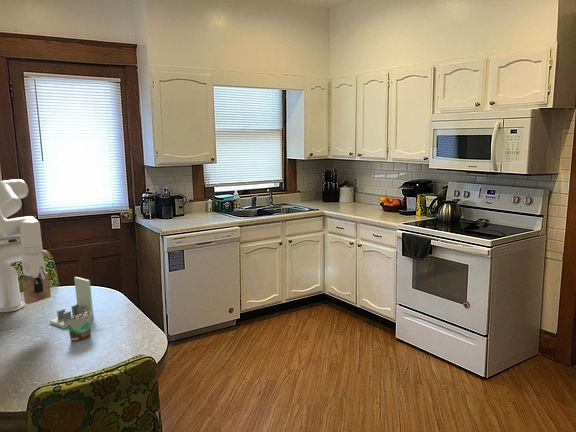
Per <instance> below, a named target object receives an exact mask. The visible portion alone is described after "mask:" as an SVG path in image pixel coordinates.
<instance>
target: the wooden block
mask: <svg viewBox="0 0 576 432" xmlns="http://www.w3.org/2000/svg"><path fill="white" fill-rule="evenodd" d="M39 276H40V275H39ZM38 279H39V278H37V280H38ZM21 281H22V283H21V284H22V290H23V291H22V292H23V298H24V302H25V305H31V304H33V303H36V302H40V301H43V300H46V299H49V298H52V294H51V285H50V275H49V272H47V271H46V274H45V279H44V280H43V283H42V284H43V292H40V293H35V287H34V284H35V279H34V278H31V277H28V276H23V277H22V278H21Z"/></svg>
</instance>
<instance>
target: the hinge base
mask: <svg viewBox="0 0 576 432" xmlns="http://www.w3.org/2000/svg"><path fill="white" fill-rule="evenodd" d="M73 279H74V287H75V289H74V290H75V296H76V304H73V305H71V310H68V311H66V309H65V308H62V309H59V310H56V313H57V317H55V318H53V319H50V320H49V323H50V324H51V325H53V326H55V327H59V328H61V329H66V328H68V325H67V319H68V320H70V319H72V318H73V317H75V316H76V315H78V314H80V313H82V312H83V311H84V309H87V310H89V311H90V312H91V315H92V318H95V316H94V309H93V299H92V288H91V280H90V279H86V278H82V277H78V276H75V277H74V278H73Z"/></svg>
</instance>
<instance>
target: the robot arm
mask: <svg viewBox="0 0 576 432" xmlns="http://www.w3.org/2000/svg"><path fill="white" fill-rule="evenodd" d="M28 195H29V187H28V184H27V183H26V182H25V181H24V180H23V179H19V178H18V179H8V180H7V179H4V180H0V242H5V241H10V240H16V241H13V242H6V243H1V244H0V313H10V312H15V311H18V310H21V309H23V308H25V306H26V303H25V301H22V300H21V299H22V298H21V290H20V283H19V275H18V270H17V269H16V268H15V267H14V266H12V265H11V264H12V263H13V264H14V263H18V262H21V267H22V274H23V276H25V277H31V278H34V279H35V284H34V287H35V293H40V292H43V284H42V283H43V280H44V279H45V274H46V272H47V269H46V264H45V263H46V262H45V258H44V254H43V253H44V251H43V242H42V241H43V240H42V231H41V224H40V221H39V220H38V219H36V217H35V216H31V215H29V216H21V217H20V216H19V217H14V218H8V217H10V216H12V215H14V214H16V213H17V212H18V211H20V209H21V208H22V204H23V203H22V199H24V198H26V197H27V196H28ZM39 275H40V276H39ZM37 278H39V279H38V280H37Z"/></svg>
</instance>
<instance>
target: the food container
mask: <svg viewBox="0 0 576 432" xmlns="http://www.w3.org/2000/svg"><path fill="white" fill-rule="evenodd" d="M92 318H93V317H92V315H91V312H90V311H89V310H87V309H84V311H83V312H82V313H80V314H78V315H76V316H75V317H73V318H72V319H70V320H68V319H67V325H68V327H67V328H68V332H69V333H68V334H69V339H70V342H71V343H75V342H81V341H85V340H87V339H89V338H90V337H91V335H92V334H91V319H92Z"/></svg>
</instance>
